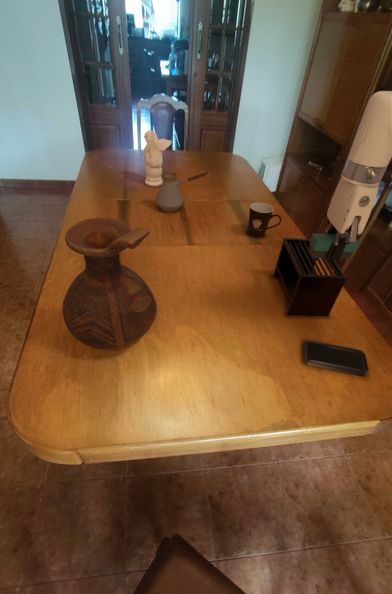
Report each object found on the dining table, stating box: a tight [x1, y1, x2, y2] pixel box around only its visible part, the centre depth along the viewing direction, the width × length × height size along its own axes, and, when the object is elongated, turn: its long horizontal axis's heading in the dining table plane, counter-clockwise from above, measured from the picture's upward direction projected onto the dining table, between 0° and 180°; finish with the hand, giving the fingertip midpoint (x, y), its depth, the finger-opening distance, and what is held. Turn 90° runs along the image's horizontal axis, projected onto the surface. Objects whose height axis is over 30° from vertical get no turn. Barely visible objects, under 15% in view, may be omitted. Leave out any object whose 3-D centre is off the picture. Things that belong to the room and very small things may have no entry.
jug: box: [61, 217, 158, 351], centre depth 70 cm, size 22×22×30 cm
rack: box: [272, 237, 348, 317], centre depth 92 cm, size 12×20×13 cm, turn 2°
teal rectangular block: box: [308, 233, 360, 260], centre depth 75 cm, size 10×4×4 cm, turn 93°
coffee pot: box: [155, 171, 210, 213], centre depth 128 cm, size 21×12×15 cm, turn 87°
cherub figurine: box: [143, 130, 172, 187], centre depth 143 cm, size 12×12×22 cm
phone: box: [302, 339, 369, 377], centre depth 78 cm, size 8×1×15 cm
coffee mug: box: [247, 202, 282, 239], centre depth 118 cm, size 12×9×10 cm
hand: (329, 254), depth 76 cm, fingers closed on teal rectangular block, 3 cm apart
